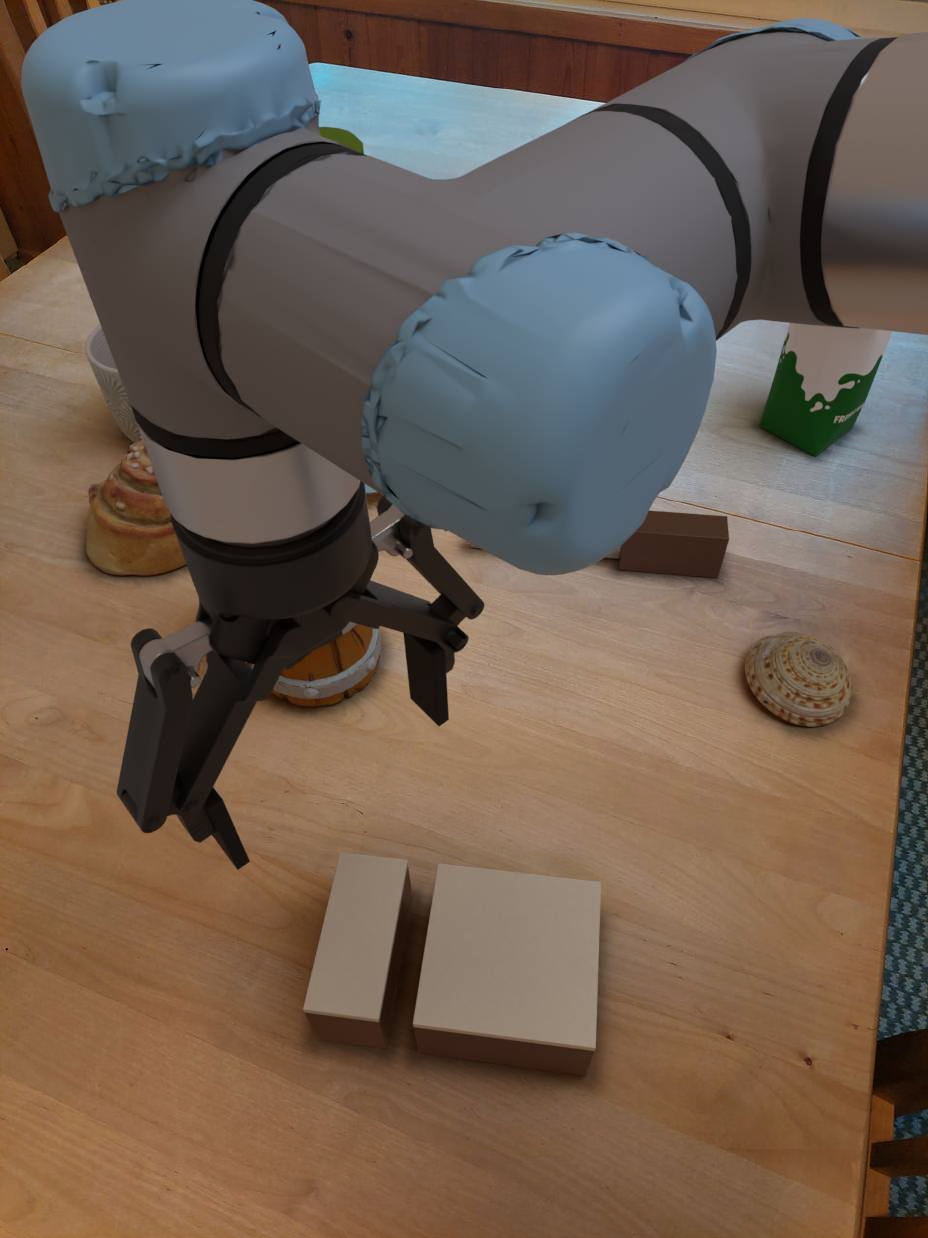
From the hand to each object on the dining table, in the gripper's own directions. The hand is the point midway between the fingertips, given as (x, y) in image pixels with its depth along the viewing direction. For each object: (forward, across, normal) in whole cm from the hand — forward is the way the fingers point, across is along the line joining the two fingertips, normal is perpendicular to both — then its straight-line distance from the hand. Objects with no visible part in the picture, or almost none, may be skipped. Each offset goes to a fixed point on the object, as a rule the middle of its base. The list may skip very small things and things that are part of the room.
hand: (335, 775), depth 51 cm
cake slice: (+16, +3, +4) cm, 17 cm away
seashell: (+17, -38, +8) cm, 42 cm away
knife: (+16, -36, -13) cm, 42 cm away
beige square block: (+16, -4, +11) cm, 20 cm away
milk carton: (+17, -67, -11) cm, 70 cm away
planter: (+16, -16, -57) cm, 62 cm away
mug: (+17, -9, -22) cm, 29 cm away
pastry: (+16, -8, -44) cm, 48 cm away
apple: (+16, -58, -88) cm, 106 cm away
